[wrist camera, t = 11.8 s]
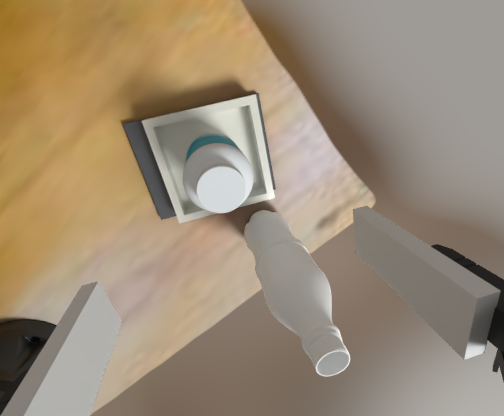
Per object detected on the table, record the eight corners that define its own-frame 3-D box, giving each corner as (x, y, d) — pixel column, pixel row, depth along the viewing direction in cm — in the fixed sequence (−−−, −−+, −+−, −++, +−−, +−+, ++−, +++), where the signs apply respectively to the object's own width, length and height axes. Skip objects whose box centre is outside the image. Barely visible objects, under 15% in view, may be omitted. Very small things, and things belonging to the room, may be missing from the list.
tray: (180, 214, 39) (179, 223, 36) (146, 118, 33) (141, 120, 30) (269, 190, 40) (274, 197, 37) (251, 94, 34) (255, 94, 31)
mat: (161, 217, 39) (161, 219, 39) (124, 123, 34) (122, 124, 33) (274, 187, 41) (275, 189, 40) (257, 93, 35) (258, 93, 34)
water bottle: (283, 240, 45) (368, 382, 22) (243, 246, 44) (290, 402, 21) (283, 202, 42) (380, 321, 20) (240, 208, 41) (290, 340, 19)
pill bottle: (175, 147, 34) (163, 173, 22) (224, 121, 34) (239, 134, 22) (203, 193, 38) (205, 238, 25) (248, 170, 38) (272, 204, 25)
